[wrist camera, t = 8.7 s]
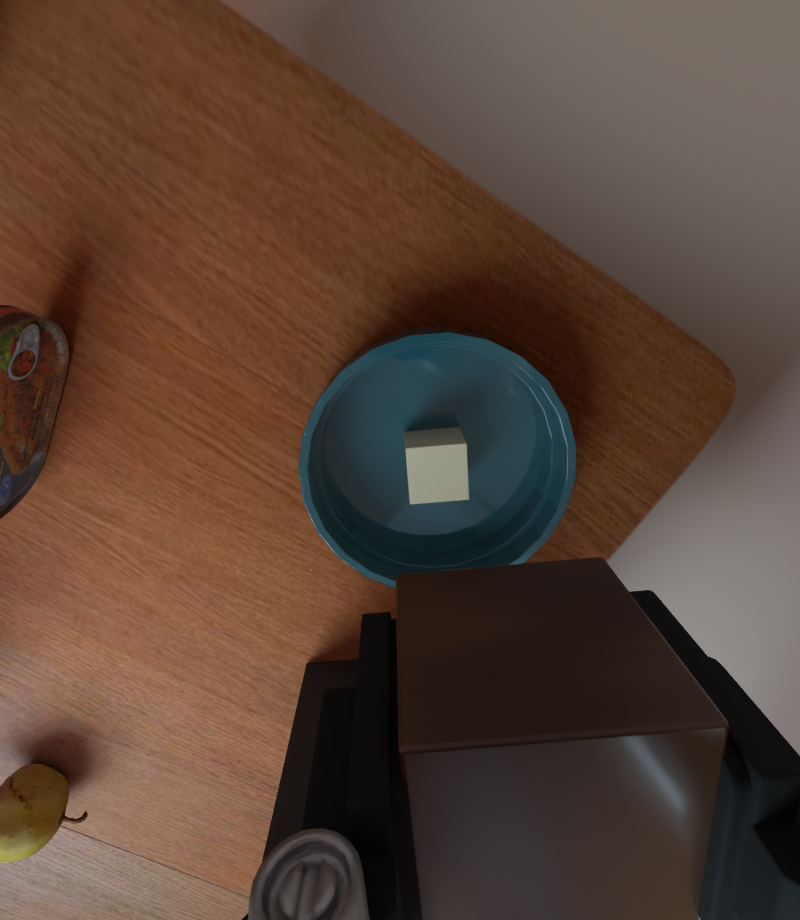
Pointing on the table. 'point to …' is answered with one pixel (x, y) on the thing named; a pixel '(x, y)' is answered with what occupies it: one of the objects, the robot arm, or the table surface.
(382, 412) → the bowl
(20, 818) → the fruit
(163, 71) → the table surface
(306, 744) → the stand
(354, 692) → the robot arm
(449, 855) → the walnut block
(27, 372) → the tin
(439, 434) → the cream block
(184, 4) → the table surface
